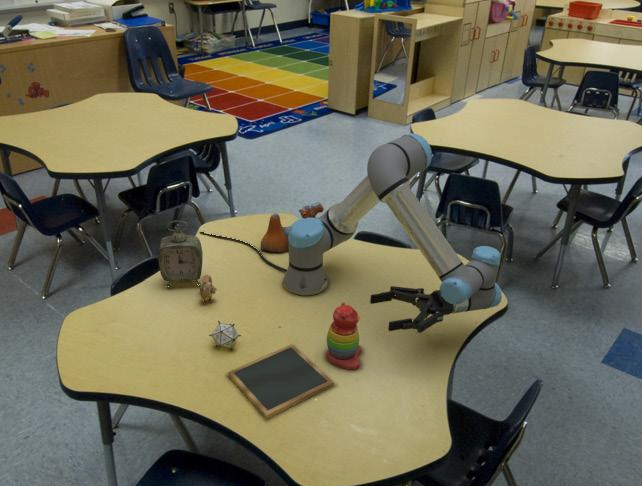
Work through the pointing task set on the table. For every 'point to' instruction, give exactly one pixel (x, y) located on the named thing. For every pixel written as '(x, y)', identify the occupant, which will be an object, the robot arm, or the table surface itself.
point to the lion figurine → (207, 288)
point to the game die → (225, 335)
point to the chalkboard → (280, 380)
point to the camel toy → (285, 229)
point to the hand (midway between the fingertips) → (379, 312)
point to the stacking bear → (344, 338)
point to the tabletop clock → (180, 257)
